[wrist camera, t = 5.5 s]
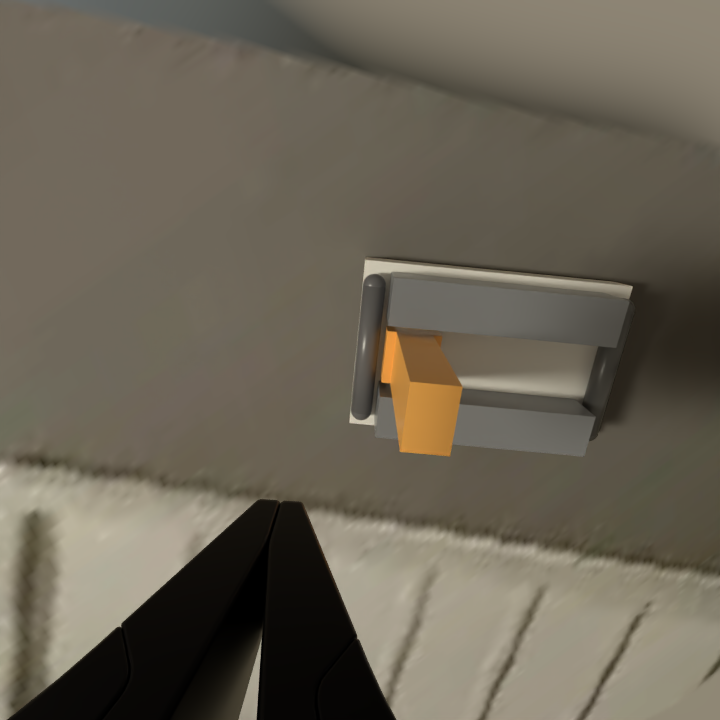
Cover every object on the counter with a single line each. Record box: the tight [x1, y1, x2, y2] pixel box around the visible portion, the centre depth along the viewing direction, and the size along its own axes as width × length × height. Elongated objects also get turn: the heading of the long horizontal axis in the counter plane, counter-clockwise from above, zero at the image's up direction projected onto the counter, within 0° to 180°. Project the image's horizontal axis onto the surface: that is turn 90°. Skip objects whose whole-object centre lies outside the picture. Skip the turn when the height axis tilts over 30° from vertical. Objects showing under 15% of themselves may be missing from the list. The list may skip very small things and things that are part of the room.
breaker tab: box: [381, 326, 463, 456], centre depth 17 cm, size 2×2×7 cm
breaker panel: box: [350, 257, 635, 457], centre depth 20 cm, size 12×8×4 cm, turn 84°
